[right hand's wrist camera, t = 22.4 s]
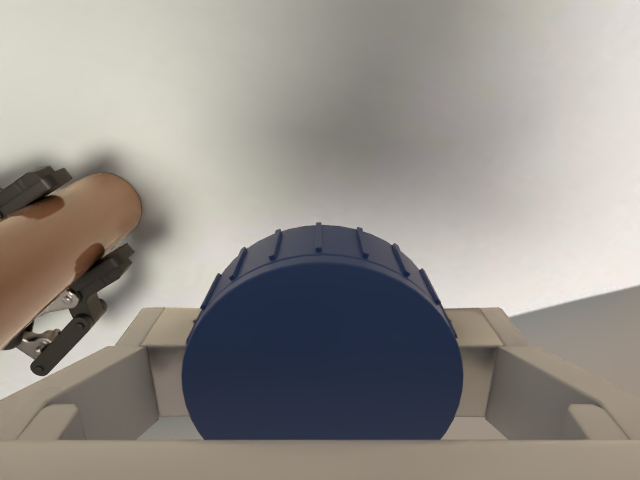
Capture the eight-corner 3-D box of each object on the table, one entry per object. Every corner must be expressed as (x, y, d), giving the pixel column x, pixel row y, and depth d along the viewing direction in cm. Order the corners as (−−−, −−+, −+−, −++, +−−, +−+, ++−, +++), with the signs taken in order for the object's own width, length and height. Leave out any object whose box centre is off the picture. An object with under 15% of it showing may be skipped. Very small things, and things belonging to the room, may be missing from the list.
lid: (413, 435, 11) (430, 505, 10) (200, 413, 11) (175, 481, 9) (466, 238, 9) (502, 280, 8) (208, 206, 9) (180, 241, 7)
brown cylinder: (66, 173, 31) (-233, 306, 14) (134, 171, 31) (-83, 300, 14) (83, 237, 33) (-164, 422, 16) (147, 235, 33) (-31, 417, 16)
